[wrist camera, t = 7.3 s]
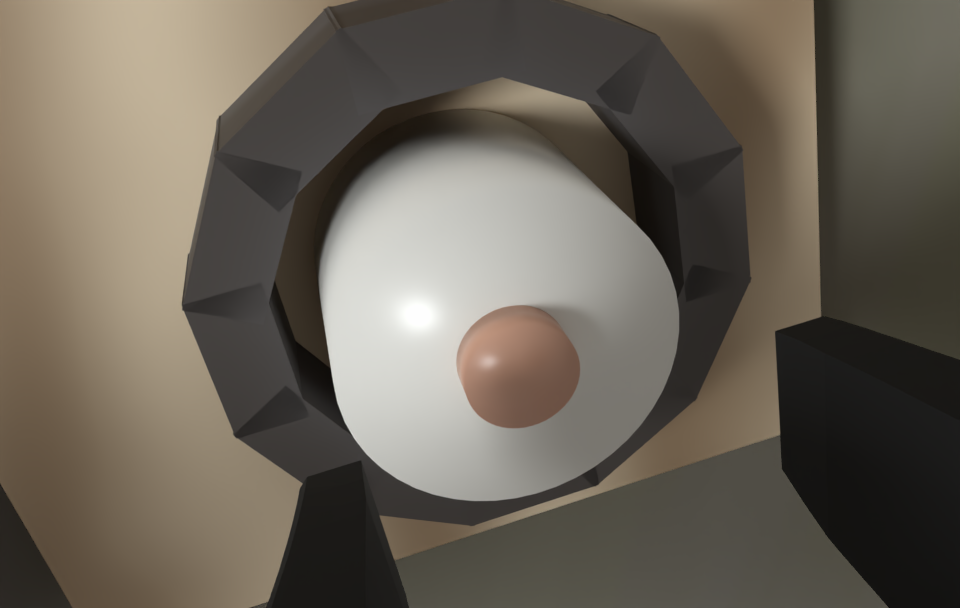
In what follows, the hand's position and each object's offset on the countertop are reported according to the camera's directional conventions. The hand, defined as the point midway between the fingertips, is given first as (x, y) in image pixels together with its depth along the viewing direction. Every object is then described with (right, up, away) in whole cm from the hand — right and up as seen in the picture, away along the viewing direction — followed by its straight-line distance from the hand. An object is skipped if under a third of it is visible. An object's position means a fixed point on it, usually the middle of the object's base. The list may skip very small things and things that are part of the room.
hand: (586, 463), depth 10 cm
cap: (-2, +3, +6) cm, 7 cm away
